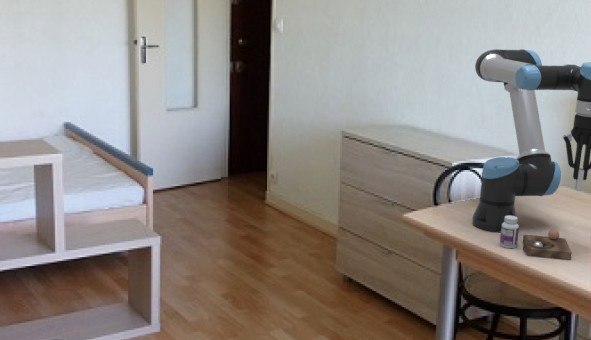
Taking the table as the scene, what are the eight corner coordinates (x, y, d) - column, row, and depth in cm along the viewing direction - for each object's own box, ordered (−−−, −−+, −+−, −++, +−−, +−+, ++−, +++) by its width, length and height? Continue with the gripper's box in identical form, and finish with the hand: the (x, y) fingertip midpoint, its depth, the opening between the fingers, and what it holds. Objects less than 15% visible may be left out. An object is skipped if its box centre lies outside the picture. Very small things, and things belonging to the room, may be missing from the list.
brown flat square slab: (525, 255, 234) (526, 248, 233) (521, 241, 246) (521, 234, 246) (570, 260, 232) (571, 252, 231) (564, 245, 244) (565, 238, 244)
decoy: (548, 240, 241) (549, 230, 240) (546, 237, 244) (548, 227, 243) (559, 241, 240) (560, 231, 240) (557, 238, 244) (559, 228, 243)
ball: (536, 241, 235) (546, 246, 235) (535, 237, 239) (544, 243, 239) (530, 250, 236) (539, 255, 236) (529, 246, 240) (538, 251, 240)
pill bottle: (508, 241, 246) (511, 213, 244) (520, 247, 242) (523, 218, 239) (496, 244, 244) (499, 215, 241) (507, 249, 239) (510, 220, 237)
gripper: (567, 115, 226) (558, 191, 232) (613, 118, 223) (602, 194, 229) (563, 111, 233) (554, 184, 239) (608, 113, 230) (597, 188, 236)
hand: (578, 189), depth 234 cm, fingers closed
